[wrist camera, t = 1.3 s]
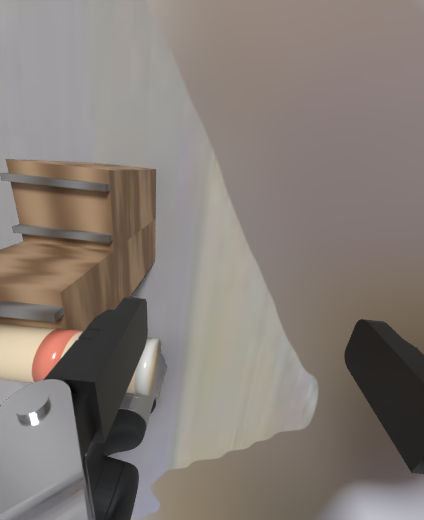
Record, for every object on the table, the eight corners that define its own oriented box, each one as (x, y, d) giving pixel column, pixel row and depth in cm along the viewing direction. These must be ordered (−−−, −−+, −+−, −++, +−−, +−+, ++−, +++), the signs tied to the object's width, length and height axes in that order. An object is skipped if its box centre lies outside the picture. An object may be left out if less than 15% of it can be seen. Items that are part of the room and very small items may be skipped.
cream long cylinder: (161, 328, 21) (147, 367, 17) (160, 364, 23) (147, 408, 19) (-55, 305, 21) (-122, 339, 17) (-40, 344, 23) (-98, 383, 19)
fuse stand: (155, 169, 46) (27, 171, 15) (155, 260, 54) (67, 386, 23) (96, 162, 46) (-153, 152, 15) (103, 255, 54) (-54, 373, 23)
